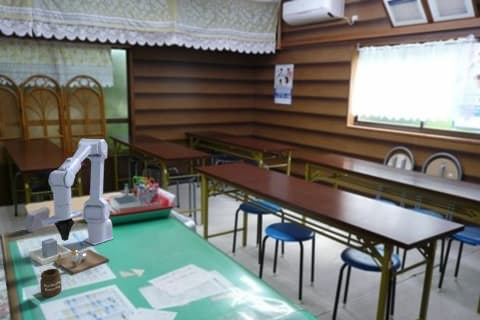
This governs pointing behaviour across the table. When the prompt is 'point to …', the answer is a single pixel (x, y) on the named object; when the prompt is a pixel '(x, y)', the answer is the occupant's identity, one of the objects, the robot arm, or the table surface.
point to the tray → (39, 257)
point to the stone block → (36, 218)
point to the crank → (78, 257)
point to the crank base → (82, 262)
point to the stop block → (49, 248)
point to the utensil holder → (50, 281)
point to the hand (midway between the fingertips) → (64, 239)
